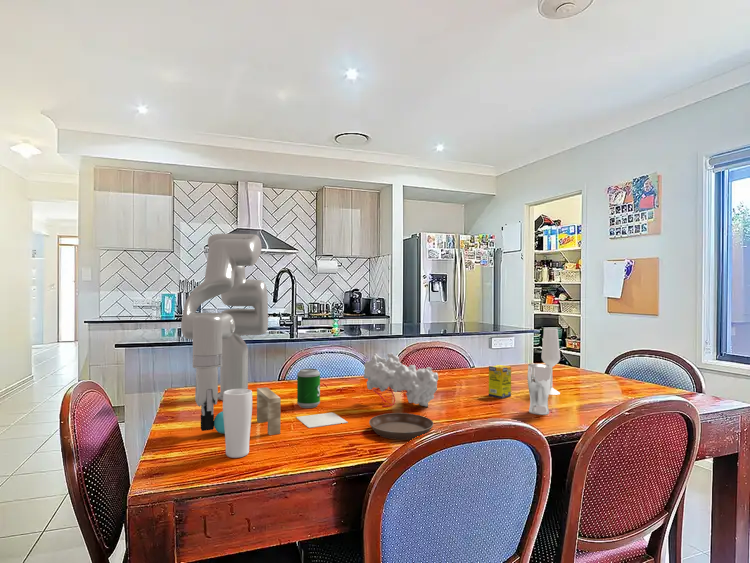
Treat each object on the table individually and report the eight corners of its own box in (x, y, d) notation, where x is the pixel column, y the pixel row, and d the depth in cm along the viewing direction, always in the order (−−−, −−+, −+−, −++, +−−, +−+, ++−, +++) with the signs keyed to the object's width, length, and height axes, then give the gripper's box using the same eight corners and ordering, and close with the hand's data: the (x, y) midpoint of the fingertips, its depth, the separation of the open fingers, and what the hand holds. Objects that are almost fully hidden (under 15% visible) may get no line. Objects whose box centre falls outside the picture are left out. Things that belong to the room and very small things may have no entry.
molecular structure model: (394, 419, 172) (342, 385, 162) (417, 373, 178) (368, 337, 168) (428, 431, 155) (372, 394, 145) (452, 380, 161) (400, 341, 151)
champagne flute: (563, 394, 178) (563, 329, 178) (544, 394, 178) (544, 329, 178) (556, 390, 185) (556, 328, 185) (538, 390, 185) (538, 327, 185)
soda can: (315, 409, 157) (315, 372, 157) (293, 408, 158) (293, 371, 158) (322, 403, 164) (322, 368, 164) (301, 402, 166) (301, 367, 166)
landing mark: (296, 417, 147) (296, 416, 147) (332, 413, 152) (332, 412, 152) (308, 428, 136) (308, 427, 136) (347, 422, 141) (347, 422, 141)
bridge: (269, 435, 130) (269, 399, 130) (256, 421, 143) (257, 388, 143) (280, 433, 131) (280, 397, 131) (267, 419, 144) (267, 387, 145)
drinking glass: (226, 450, 118) (226, 388, 118) (254, 449, 118) (254, 388, 118) (219, 460, 111) (219, 395, 111) (249, 459, 112) (249, 394, 112)
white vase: (550, 410, 155) (550, 364, 155) (550, 416, 149) (550, 367, 149) (527, 408, 158) (527, 362, 158) (527, 414, 151) (527, 366, 151)
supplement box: (502, 398, 171) (502, 368, 171) (488, 396, 176) (488, 365, 176) (511, 396, 175) (511, 366, 175) (497, 393, 180) (497, 364, 180)
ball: (214, 407, 133) (236, 407, 135) (212, 429, 133) (234, 428, 135) (215, 415, 127) (238, 414, 129) (213, 437, 128) (236, 436, 130)
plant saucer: (444, 439, 127) (444, 427, 127) (379, 445, 122) (379, 433, 122) (419, 421, 144) (419, 411, 144) (361, 426, 139) (361, 415, 139)
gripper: (190, 358, 135) (190, 424, 135) (195, 366, 121) (194, 439, 121) (218, 356, 138) (218, 420, 138) (226, 364, 125) (225, 435, 124)
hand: (207, 429), depth 130 cm, fingers closed
